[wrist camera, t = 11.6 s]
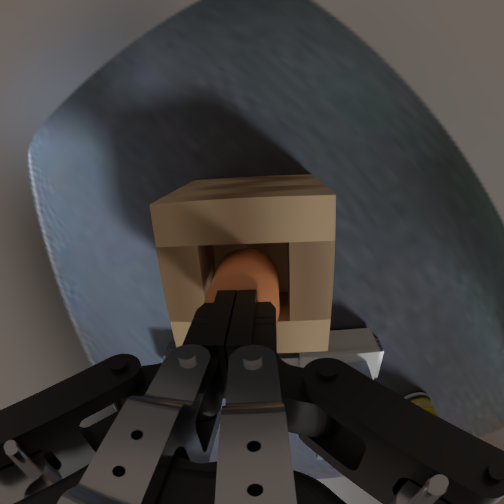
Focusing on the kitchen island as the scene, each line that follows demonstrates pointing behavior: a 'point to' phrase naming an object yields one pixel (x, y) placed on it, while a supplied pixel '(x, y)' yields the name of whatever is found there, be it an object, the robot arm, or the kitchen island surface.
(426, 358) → the kitchen island surface
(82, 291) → the kitchen island surface
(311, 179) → the open wooden box
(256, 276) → the brown egg
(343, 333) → the carriage
